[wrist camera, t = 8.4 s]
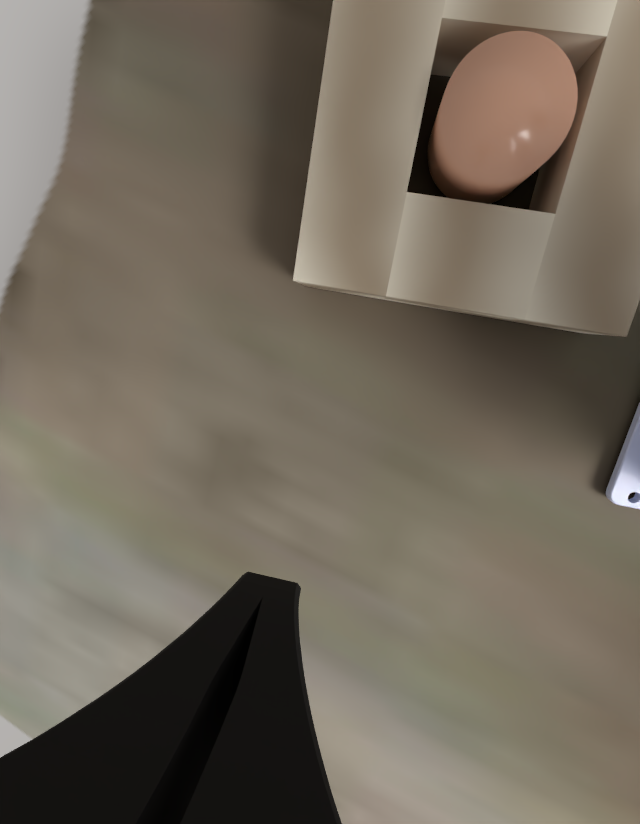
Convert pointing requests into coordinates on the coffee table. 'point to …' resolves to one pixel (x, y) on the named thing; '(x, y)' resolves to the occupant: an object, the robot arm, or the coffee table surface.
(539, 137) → the terracotta button
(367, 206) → the button panel
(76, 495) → the coffee table surface
